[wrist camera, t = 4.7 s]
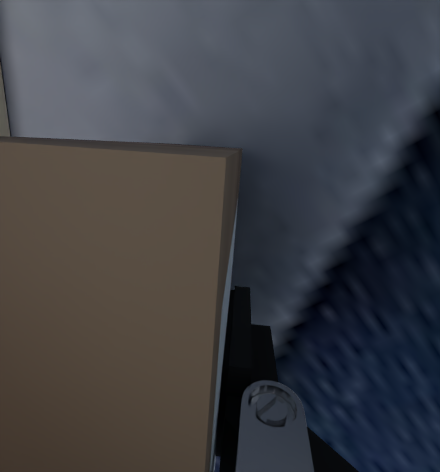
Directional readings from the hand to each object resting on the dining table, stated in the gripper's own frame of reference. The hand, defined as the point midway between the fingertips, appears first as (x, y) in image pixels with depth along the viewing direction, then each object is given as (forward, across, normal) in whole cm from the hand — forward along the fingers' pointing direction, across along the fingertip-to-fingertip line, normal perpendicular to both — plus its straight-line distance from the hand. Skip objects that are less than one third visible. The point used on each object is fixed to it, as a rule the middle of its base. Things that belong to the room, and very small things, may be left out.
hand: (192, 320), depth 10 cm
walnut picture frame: (+2, 0, 0) cm, 2 cm away
